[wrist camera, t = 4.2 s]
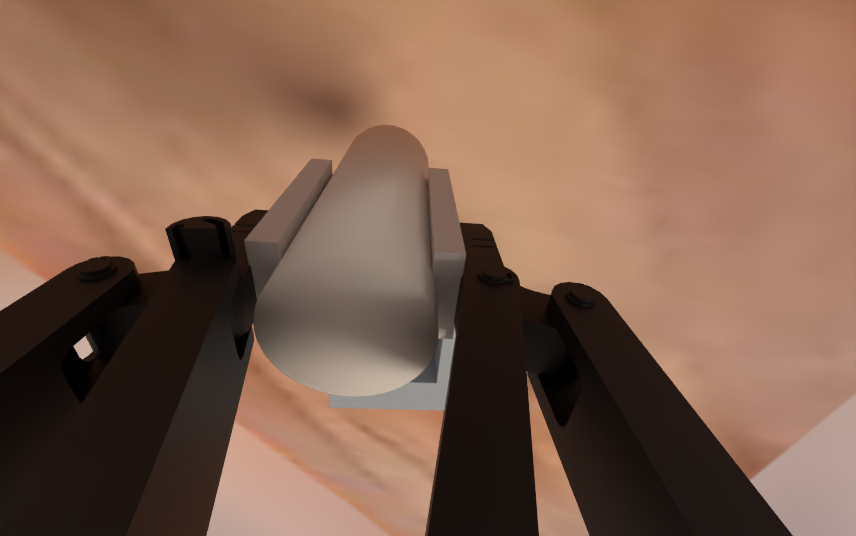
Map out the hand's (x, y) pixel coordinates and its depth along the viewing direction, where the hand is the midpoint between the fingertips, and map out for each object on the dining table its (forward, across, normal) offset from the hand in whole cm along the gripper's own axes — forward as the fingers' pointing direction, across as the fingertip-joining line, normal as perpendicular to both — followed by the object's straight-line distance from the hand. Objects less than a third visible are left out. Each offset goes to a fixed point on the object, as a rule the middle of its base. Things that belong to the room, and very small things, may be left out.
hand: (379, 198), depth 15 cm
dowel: (+4, 0, 0) cm, 4 cm away
